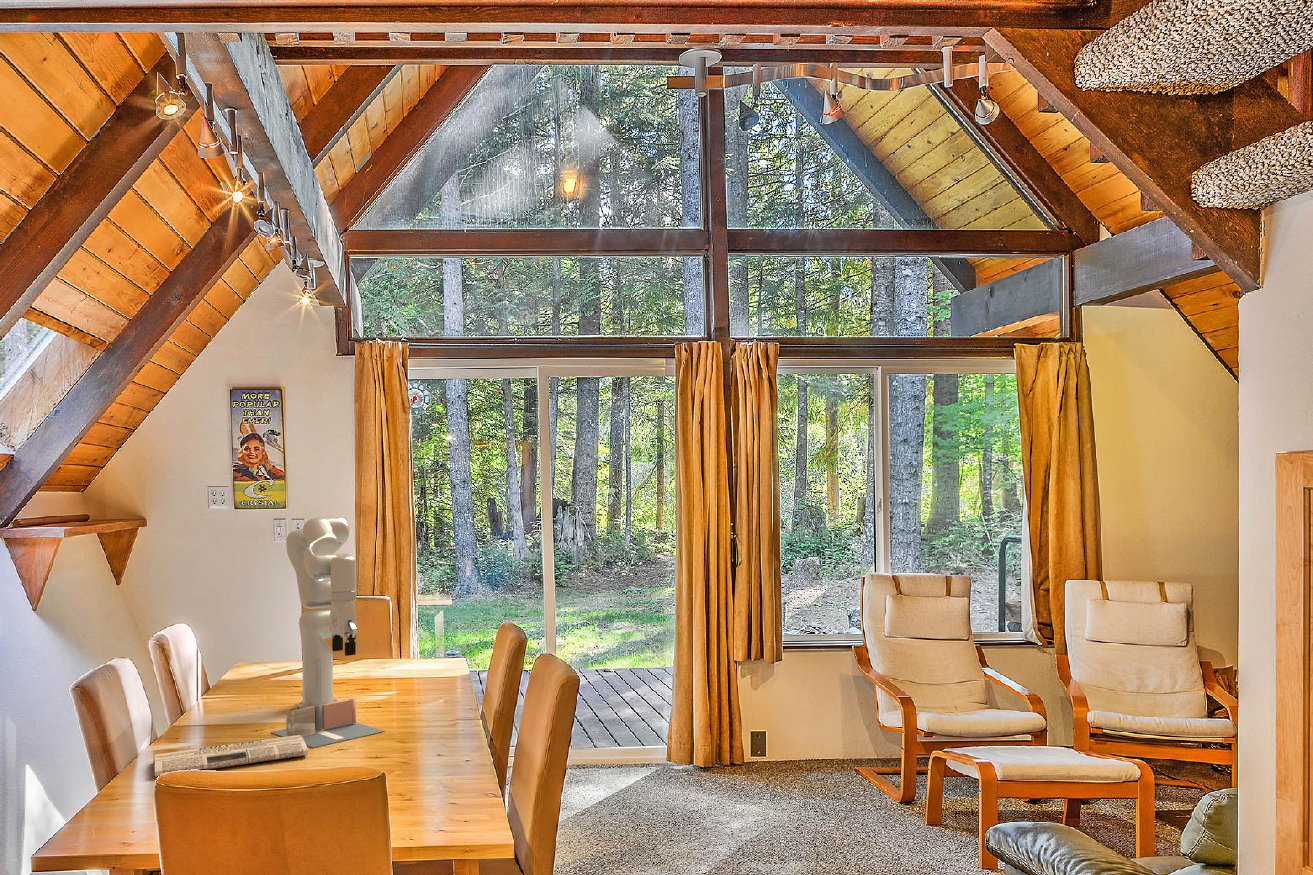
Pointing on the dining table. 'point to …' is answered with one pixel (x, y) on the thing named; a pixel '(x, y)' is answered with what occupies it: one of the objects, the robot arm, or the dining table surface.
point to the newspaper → (231, 754)
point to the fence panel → (335, 714)
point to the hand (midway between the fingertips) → (343, 653)
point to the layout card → (334, 734)
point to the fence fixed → (300, 721)
